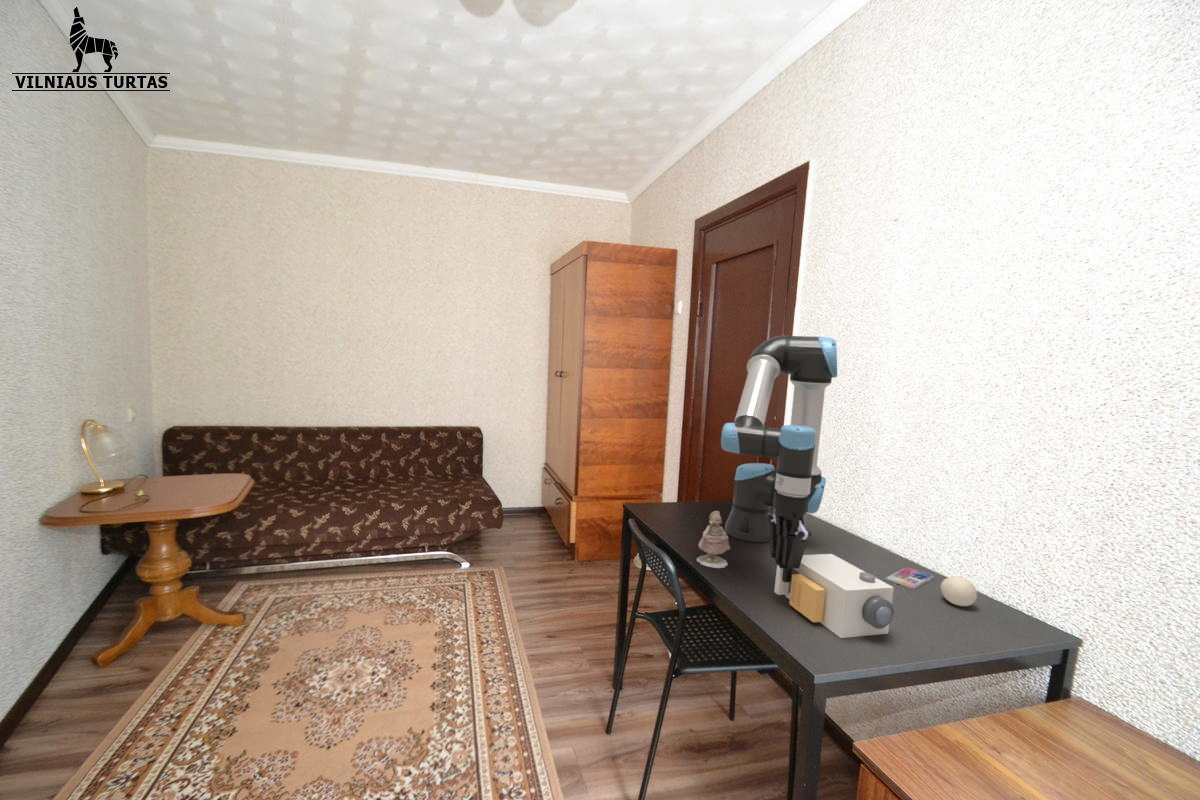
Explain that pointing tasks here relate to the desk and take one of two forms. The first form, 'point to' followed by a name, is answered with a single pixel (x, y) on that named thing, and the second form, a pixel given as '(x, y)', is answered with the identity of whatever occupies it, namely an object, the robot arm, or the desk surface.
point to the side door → (807, 597)
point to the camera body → (849, 596)
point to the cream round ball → (959, 591)
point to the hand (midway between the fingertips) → (781, 593)
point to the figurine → (714, 543)
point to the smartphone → (909, 578)
